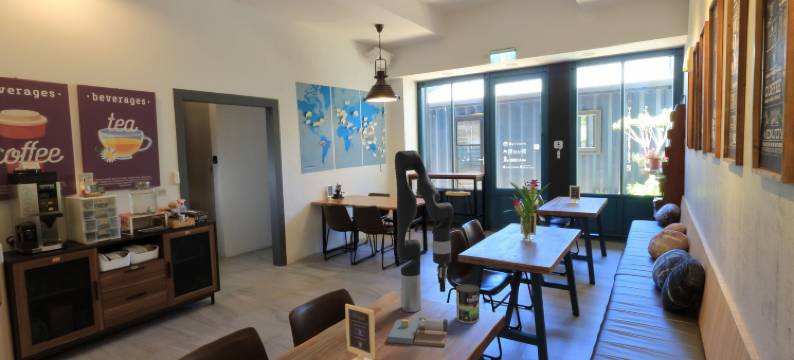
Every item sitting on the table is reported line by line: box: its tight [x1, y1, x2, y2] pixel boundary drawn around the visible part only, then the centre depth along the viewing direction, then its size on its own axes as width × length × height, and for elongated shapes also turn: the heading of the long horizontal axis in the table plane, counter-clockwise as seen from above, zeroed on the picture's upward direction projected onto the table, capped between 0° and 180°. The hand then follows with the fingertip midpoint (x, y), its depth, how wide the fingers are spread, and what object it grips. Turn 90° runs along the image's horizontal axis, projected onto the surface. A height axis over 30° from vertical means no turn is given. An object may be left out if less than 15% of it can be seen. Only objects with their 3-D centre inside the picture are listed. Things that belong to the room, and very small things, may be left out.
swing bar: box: [417, 317, 449, 332], centre depth 171 cm, size 12×3×4 cm, turn 78°
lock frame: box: [387, 318, 449, 348], centre depth 173 cm, size 16×22×5 cm
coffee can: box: [455, 283, 480, 324], centre depth 187 cm, size 10×10×14 cm
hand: (442, 291), depth 175 cm, fingers closed
